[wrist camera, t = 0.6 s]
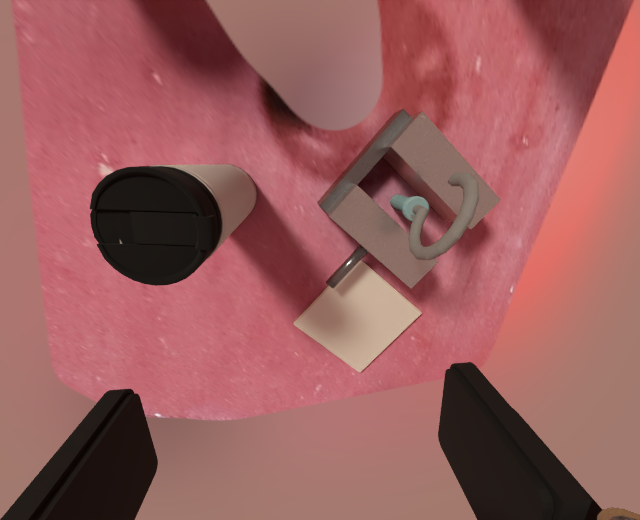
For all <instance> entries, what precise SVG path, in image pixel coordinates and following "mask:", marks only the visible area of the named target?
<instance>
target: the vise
mask: <svg viewBox="0 0 640 520" xmlns="http://www.w3.org/2000/svg"><path fill="white" fill-rule="evenodd" d="M382 157H383V158H384V159H385V160H386V161H387V162H388V163H389V164H390V165H391V166H392V167H393V169H394V170H395V171H396V172H397V173H398V174H399V175H400V176H401V177H402V178H403V179H404V180H405V181H406V182H407V183H408V184H409V185H410V186H411V187H412V188H413V189H414V190H415V191H416V192H417V193H418V194H419V195H420V196H421V197H422V198H424V199H425V200H426V201H427V202H428V204H429V205H430V206H431V207H432V208H433V209H434V210H435V211H436V212H437V213H438V214H439V215H440V216H441V217H442V218H443V219H444V220H447V221H449V222H452V223H453V222H454V220H455V219H456V217H457V215H458V214H459V211H460V208H461V204H462V201H463V189H462V188H461V187H460V186H451V185H450V184H449V183H447V182H448V180H449V178H450V176H451V175H452V174H453V173H456V172H470V173H471V174H472V175H473V177H474V178H475V179H476V180H477V181H478V183H479V201H478V204H477V207H476V210H475V213H474V216H473V219H472V221H471V222H470V224H469V225H468V227H467V228H468V229H472V228H473V227H474V226H475V225H476V224H477V223H478V222H479V221H480V220H481V219H482V218H483V217H484V216H485V215H486V214H487V213H488V212H489V211H490V210H491V209H492V208H493V207H494V206H495V205H496V204H497V203H498V202H499V201H500V200H501V199H500V198H499V197H498V196H497V195H496V194H495V193H494V192H493V190H492V189H491V188H490V187H489V186H488V185H487V184H486V183H485V181H484V180H483V179H482V178H481V177H480V176H479V175H478V173H477V172H476V171H475V170H474V169H473V168H472V167H471V166H470V164H469V163H468V162H467V161H466V160H465V159H464V158H463V157H462V155H461V154H460V153H459V152H458V151H457V150H456V149H455V147H454V146H453V145H452V144H451V143H450V142H449V141H448V140H447V138H446V137H445V136H444V135H443V134H442V133H441V132H440V131H439V129H438V128H437V127H436V126H435V125H434V124H433V123H432V121H431V120H430V119H429V118H428V117H427V116H426V115H425V114H424V112H423V111H422V112H419V113H417V114H414V115H412V116H410V115H409V114H408V113H407V112H406V111H405V110H404V109H402V110H400V111H398V112H396V113H394V114H393V115H392V117H391V118H390V119H389V120H388V121H387V122H386V123H385V125H384V126H383V127H382V128H381V129H380V130H379V132H378V133H377V134H376V135H375V136H374V137H373V138H372V140H371V141H370V142H369V143H368V144H367V145H366V147H365V148H364V149H363V150H362V151H361V152H360V154H359V155H358V156H357V157H356V158H355V159H354V160H353V162H352V163H351V164H350V165H349V166H348V167H347V169H346V170H345V171H344V172H343V173H342V174H341V175H340V177H339V178H338V179H337V180H336V181H335V182H334V184H333V185H332V186H331V187H330V188H329V189H328V190H327V192H326V193H325V194H324V195H323V196H322V197H321V199H320V200H319V201H318V202H317V203H318V205H319V206H320V207H321V208H322V209H323V210H324V211H326V213H327V214H328V216H329V217H330V218H331V219H332V220H333V221H335V222H336V223H337V224H338V225H339V226H340V227H341V228H342V229H344V230H345V231H346V232H347V233H348V234H349V235H350V236H352V237H353V238H354V239H355V240H356V241H357V242H358V243H359V244H361V245H360V246H359V247H358V248H357V249H356V250H355V251H354V252H353V253H352V254H351V255H350V256H349V257H348V259H347V260H346V261H345V262H344V263H343V264H342V265H341V266H340V267H339V268H338V269H337V270H336V271H335V272H334V274H333V275H332V276H331V277H330V278H329V279H328V280H327V281H326V283H327V284H328V285H329V286H330V287H331V288H333V289H334V288H335V287H336V286H337V285H338V283H339V282H340V281H341V280H342V279H343V278H344V277H345V276H346V275H347V274H348V273H349V272H350V271H351V270H352V269H353V268H354V266H355V265H356V264H357V263H358V262H359V261H360V260H361V259H362V258H363V257H364V256H365V255H366V254H367V253H368V252H370V253H371V254H372V255H373V256H374V257H375V258H376V259H378V260H379V261H380V262H381V263H382V264H383V265H384V266H386V267H387V268H388V269H389V270H390V271H391V272H392V273H393V274H395V275H396V276H397V277H398V278H399V279H400V280H401V281H402V282H404V283H405V284H406V285H407V286H408V287H409V288H410V289H411V288H412V287H413V286H414V285H415V284H416V283H417V282H419V281H420V280H421V279H422V278H423V277H424V276H425V275H426V274H427V273H428V272H429V271H430V270H431V269H432V268H433V267H434V266H435V265H436V264H437V263H438V262H437V261H436V260H435V259H432V260H419V259H416V258H415V256H414V255H413V254H412V253H411V252H410V249H409V240H408V238H409V234H408V233H407V232H406V231H405V230H404V229H403V228H402V227H401V226H400V225H399V224H398V223H396V222H395V221H394V220H393V219H392V218H391V217H390V216H389V215H388V214H387V213H386V212H385V211H384V210H383V209H382V208H381V207H380V206H379V205H378V204H377V203H375V202H374V201H373V200H372V199H371V198H370V197H369V196H368V195H367V194H366V193H365V192H364V191H363V190H362V189H361V188H360V187H359V186H358V184H359V183H360V181H361V180H362V179H363V178H364V177H365V176H366V175H367V173H368V172H369V171H370V170H371V169H372V168H373V167H374V166H375V164H376V163H377V162H378V161H379V160H380V159H381V158H382Z"/></svg>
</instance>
